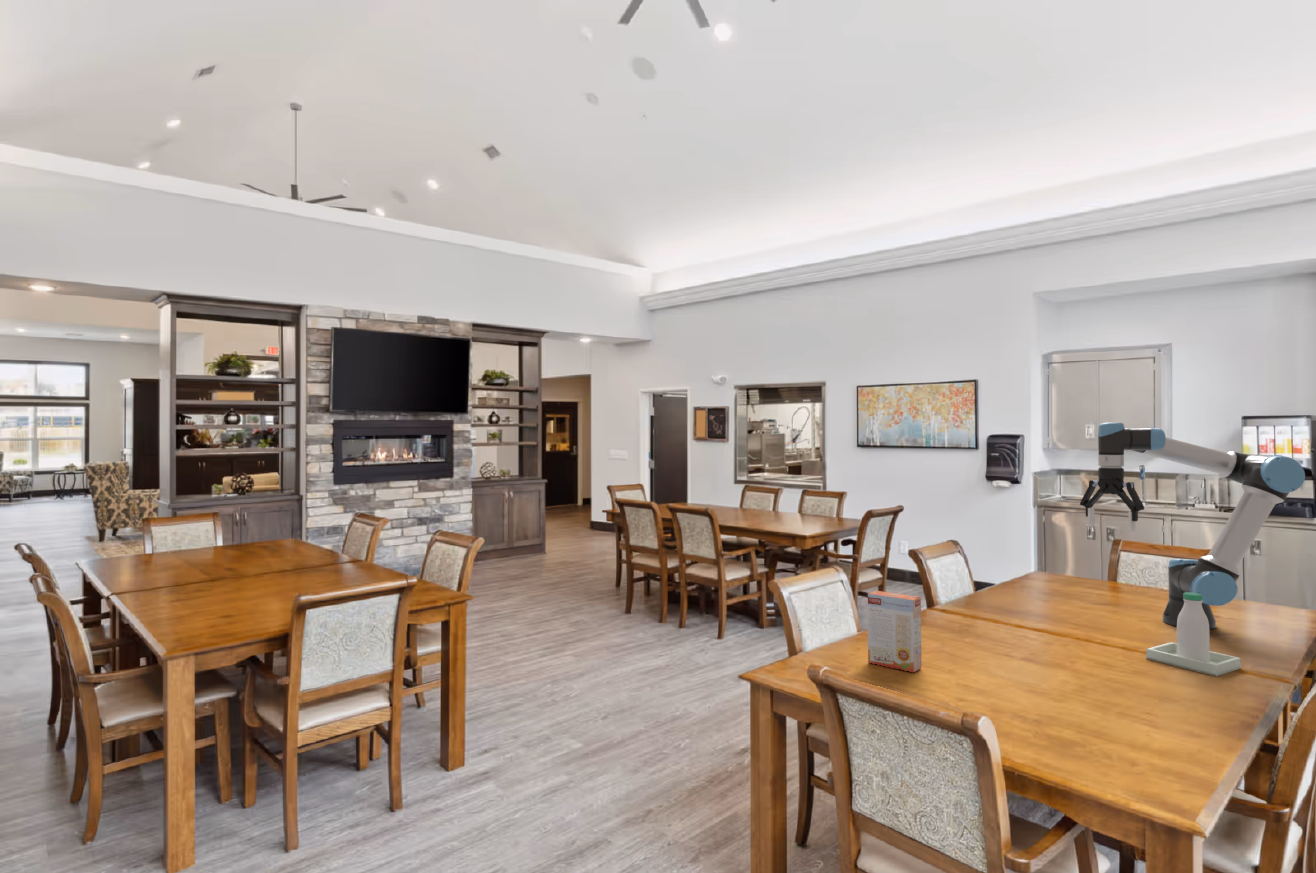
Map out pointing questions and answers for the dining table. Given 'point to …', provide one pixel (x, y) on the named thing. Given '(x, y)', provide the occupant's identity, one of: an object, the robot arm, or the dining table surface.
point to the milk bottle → (1193, 629)
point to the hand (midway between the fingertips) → (1111, 528)
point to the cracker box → (894, 630)
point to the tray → (1215, 666)
